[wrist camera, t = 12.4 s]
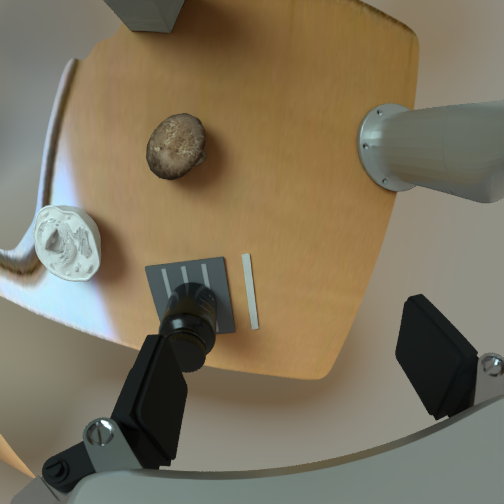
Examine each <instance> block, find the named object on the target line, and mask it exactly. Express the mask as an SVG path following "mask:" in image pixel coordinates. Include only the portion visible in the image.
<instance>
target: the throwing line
mask: <svg viewBox="0 0 504 504" xmlns="http://www.w3.org/2000/svg"><path fill="white" fill-rule="evenodd" d="M242 259H243V267H244V275H245V282H246V290H247V297H248V305H249V312H250V319H251V326H252V329H259V328H258V320H257V312H256V304H255V296H254V287H253V279H252V271H251V262H250V254H249V253H248V254H242Z"/></svg>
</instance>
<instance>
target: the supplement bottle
mask: <svg viewBox="0 0 504 504" xmlns="http://www.w3.org/2000/svg"><path fill="white" fill-rule="evenodd" d="M216 324H217V300H216V297H215V295H214V294H213V292H212V291H211V290H210V289H209V288H208V287H206V286H205V285H203V284H200V283H196V282H187V283H183V284H181V285H179V286H178V287H176V288H175V289H174V290H173V292H172V293H171V296H170V298H169V301H168V303H167V306H166V309H165V312H164V315H163V317H162V320H161V323H160V326H159V334H162V335H163V336H164V338H168V340H169V342H170V345H171V347H172V350H173V352H174V355H175V357H176V360H177V362H178V365H179V367H180V370H181V372H185V373H186V372H194V371H197V370H198V369H200V368H201V367H202V366H203V364H204V363H205V359H206V355H207V354H208V353H209V352H210V351H211V350H212V348H213V347H214V344H215V340H216Z"/></svg>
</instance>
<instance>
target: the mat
mask: <svg viewBox="0 0 504 504" xmlns="http://www.w3.org/2000/svg"><path fill="white" fill-rule="evenodd" d="M145 271H146V275H147V278H148V282H149V286H150V289H151V293H152V296H153V300H154V303H155V307H156V310H157V313H158V317H159V320H160V323H161V320H162V317H163V315H164V312H165V309H166V306H167V303H168V301H169V298H170V296H171V293H172V292H173V290H174V289H175V288H176V287H178V286H179V285H181V284H183V283H187V282H196V283H200V284H203V285H205V286H206V287H208V288H209V289H210V290H211V291H212V292H213V294H214V295H215V297H216V300H217V324H216V334H224V333H233V332H235V325H234V320H233V314H232V308H231V302H230V296H229V290H228V284H227V278H226V272H225V265H224V259H223V257H216V258H208V259H200V260H192V261H184V262H177V263H169V264H161V265H153V266H146V267H145Z"/></svg>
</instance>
